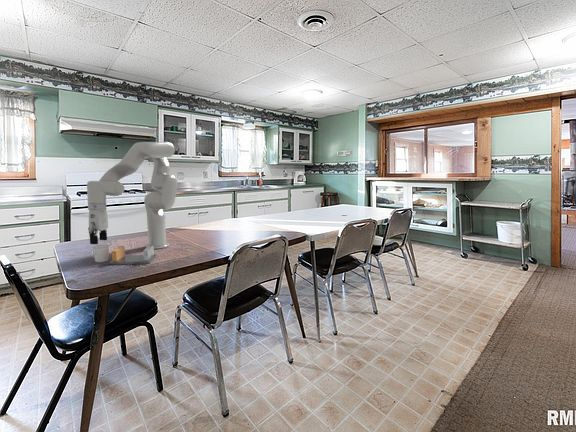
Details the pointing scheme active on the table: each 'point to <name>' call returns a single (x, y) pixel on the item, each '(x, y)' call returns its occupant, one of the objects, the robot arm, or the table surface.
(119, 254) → the slide jaw
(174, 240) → the table surface
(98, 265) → the table surface
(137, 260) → the vise base
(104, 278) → the table surface
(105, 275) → the table surface
